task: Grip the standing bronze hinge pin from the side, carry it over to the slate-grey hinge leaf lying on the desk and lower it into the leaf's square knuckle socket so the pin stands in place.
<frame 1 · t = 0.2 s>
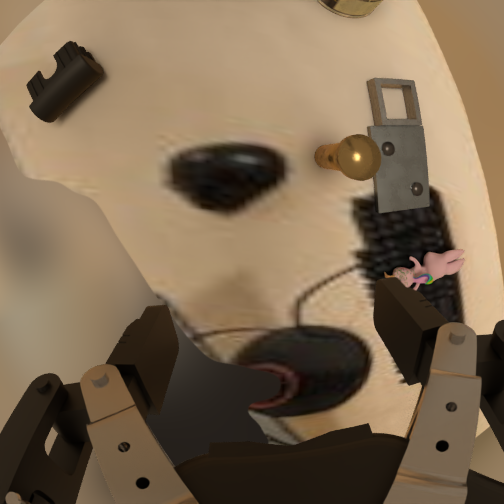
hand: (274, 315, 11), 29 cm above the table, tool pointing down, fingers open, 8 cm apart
hinge pin: (326, 156, 36), on the table
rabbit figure: (421, 264, 42), on the table
end cap: (76, 86, 32), on the table
hinge leaf: (391, 104, 34), on the table
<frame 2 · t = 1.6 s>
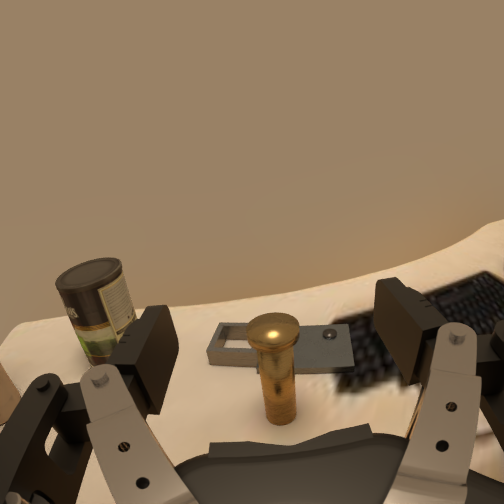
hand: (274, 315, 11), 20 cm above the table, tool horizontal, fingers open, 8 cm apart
hinge pin: (281, 414, 28), on the table
coffee can: (118, 353, 41), on the table
hinge leaf: (239, 350, 40), on the table
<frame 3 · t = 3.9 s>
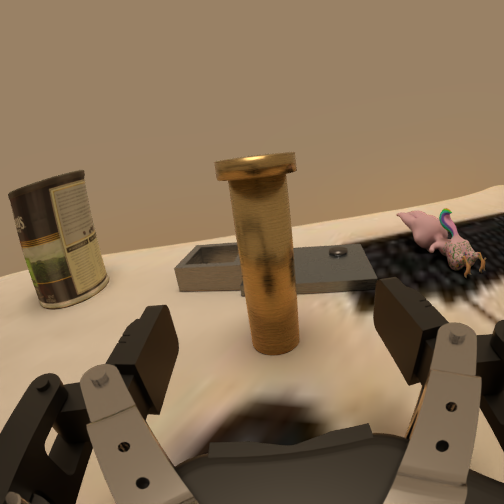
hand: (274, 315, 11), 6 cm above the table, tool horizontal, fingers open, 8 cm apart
hinge pin: (275, 340, 20), on the table
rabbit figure: (434, 254, 29), on the table
coffee can: (74, 291, 32), on the table
hinge leaf: (219, 276, 31), on the table
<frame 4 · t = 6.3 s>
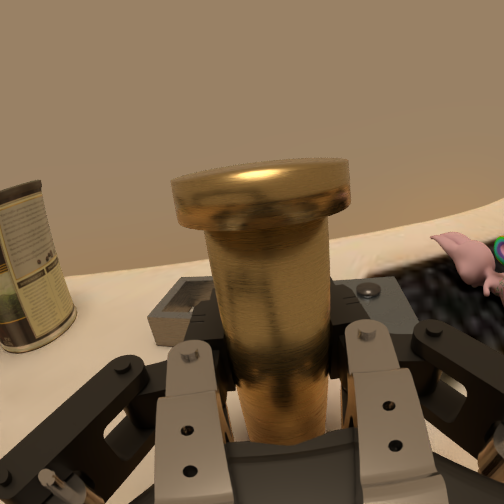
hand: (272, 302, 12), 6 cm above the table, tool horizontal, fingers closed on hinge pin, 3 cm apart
hinge pin: (288, 448, 11), on the table, touching gripper
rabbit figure: (479, 290, 20), on the table
coffee can: (38, 327, 24), on the table
hinge leaf: (210, 322, 23), on the table
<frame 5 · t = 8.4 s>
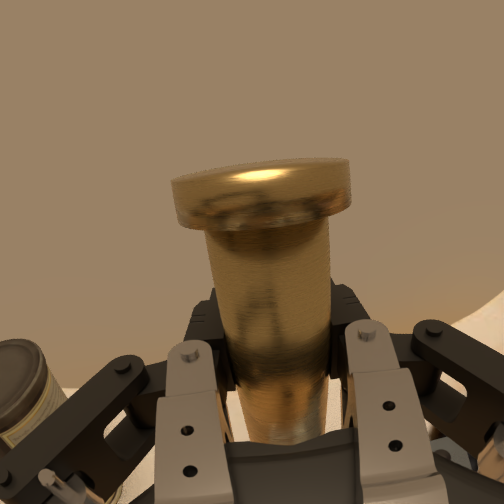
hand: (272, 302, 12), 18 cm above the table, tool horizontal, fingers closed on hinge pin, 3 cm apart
hinge pin: (288, 449, 11), point 11 cm above the table, touching gripper
coffee can: (79, 483, 17), on the table
when the fingers open (8 cm above the table, at t = 10.7 s): hinge pin drops 1 cm, resting in hinge leaf.
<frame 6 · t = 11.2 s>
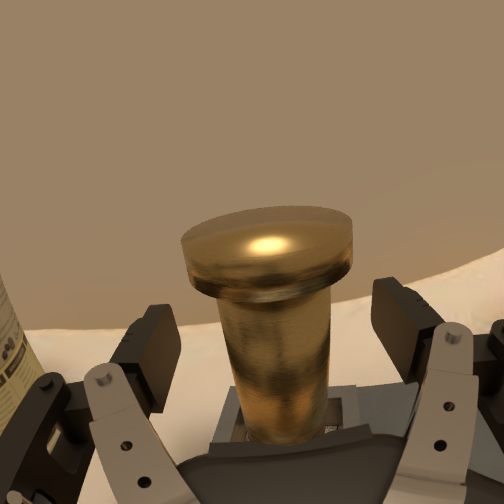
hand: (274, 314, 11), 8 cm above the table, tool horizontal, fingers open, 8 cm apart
hinge pin: (289, 463, 12), resting in hinge leaf
coffee can: (16, 427, 13), on the table
hinge leaf: (288, 462, 12), on the table
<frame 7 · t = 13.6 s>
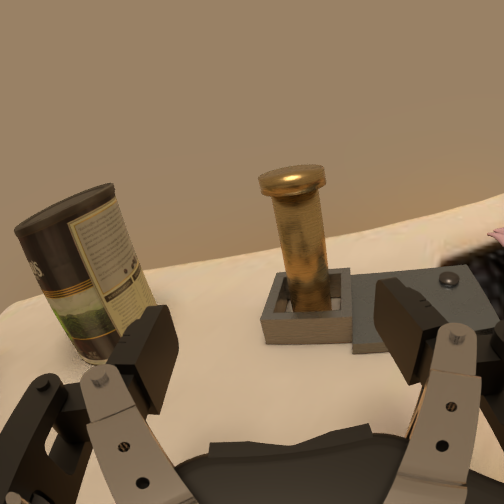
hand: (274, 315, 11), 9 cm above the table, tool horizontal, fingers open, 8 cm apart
hinge pin: (313, 316, 24), resting in hinge leaf
coffee can: (120, 333, 27), on the table
hinge leaf: (312, 316, 24), on the table
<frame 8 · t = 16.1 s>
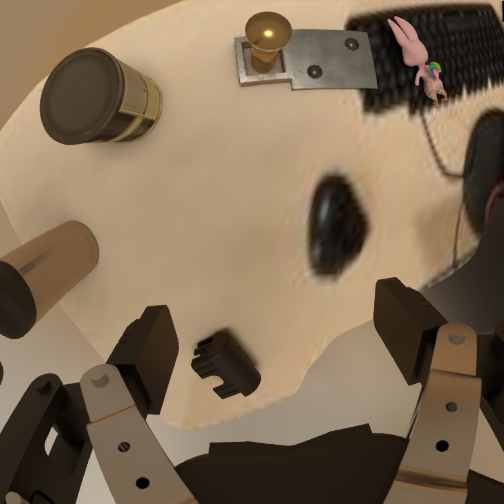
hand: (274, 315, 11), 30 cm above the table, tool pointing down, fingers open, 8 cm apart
hinge pin: (263, 62, 33), resting in hinge leaf
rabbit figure: (412, 63, 32), on the table
end cap: (228, 352, 49), on the table
coffee can: (129, 107, 35), on the table
hinge leaf: (262, 62, 33), on the table
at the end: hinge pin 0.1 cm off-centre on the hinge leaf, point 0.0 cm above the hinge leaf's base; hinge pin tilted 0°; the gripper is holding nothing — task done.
